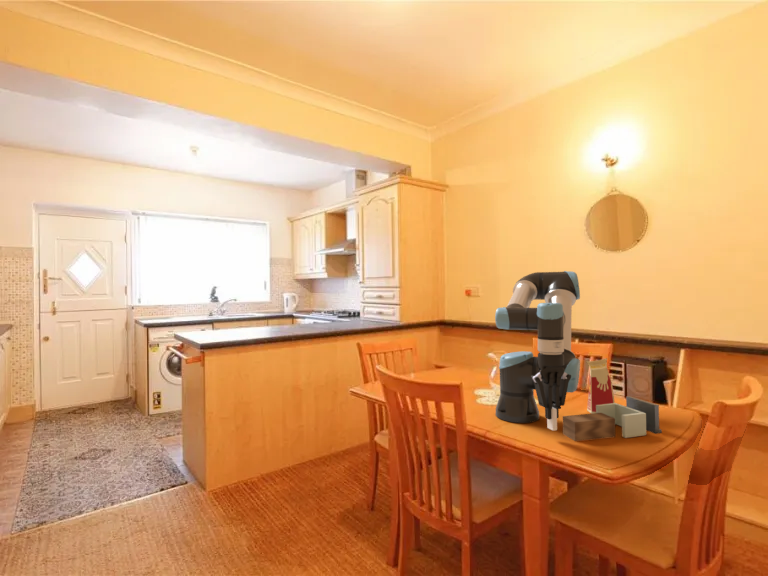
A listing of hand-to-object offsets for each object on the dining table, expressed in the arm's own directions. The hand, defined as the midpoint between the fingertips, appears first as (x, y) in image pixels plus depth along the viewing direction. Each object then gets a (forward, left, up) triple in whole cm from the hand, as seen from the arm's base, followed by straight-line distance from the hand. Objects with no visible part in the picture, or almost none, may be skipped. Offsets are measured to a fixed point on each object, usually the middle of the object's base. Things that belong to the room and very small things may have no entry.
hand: (552, 428), depth 125 cm
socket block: (+21, +15, -3) cm, 26 cm away
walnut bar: (+11, +7, -4) cm, 14 cm away
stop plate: (+28, +20, -3) cm, 35 cm away
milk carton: (+18, +35, -4) cm, 40 cm away
